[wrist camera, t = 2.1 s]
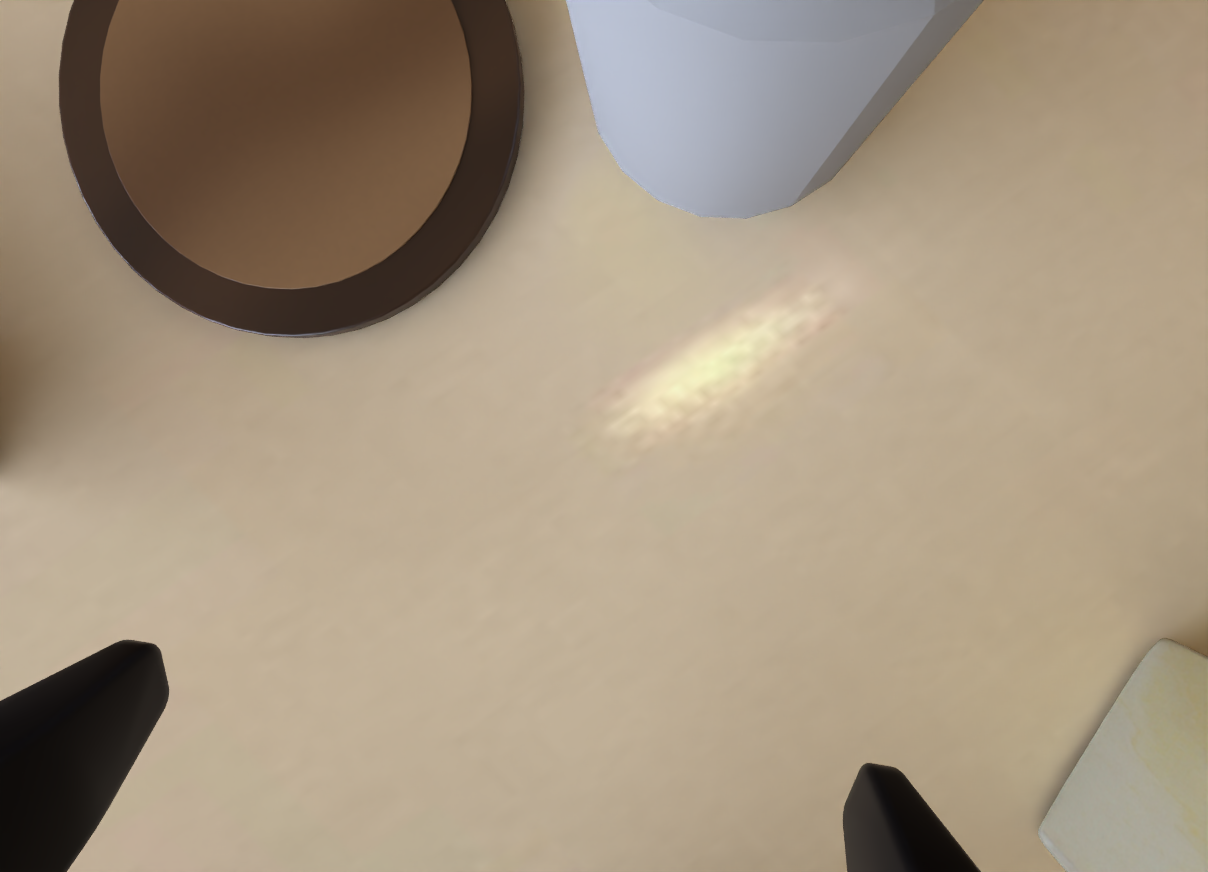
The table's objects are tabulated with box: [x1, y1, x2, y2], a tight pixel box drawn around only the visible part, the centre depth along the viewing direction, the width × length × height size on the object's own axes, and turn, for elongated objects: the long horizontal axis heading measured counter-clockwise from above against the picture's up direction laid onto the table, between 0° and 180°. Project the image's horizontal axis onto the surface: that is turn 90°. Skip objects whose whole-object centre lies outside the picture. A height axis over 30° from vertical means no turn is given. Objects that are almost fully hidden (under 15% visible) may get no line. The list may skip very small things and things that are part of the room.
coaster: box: [59, 0, 524, 338], centre depth 19 cm, size 13×13×1 cm
